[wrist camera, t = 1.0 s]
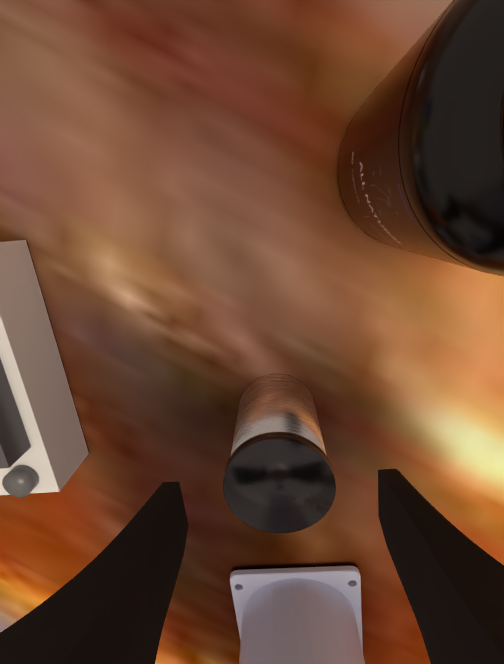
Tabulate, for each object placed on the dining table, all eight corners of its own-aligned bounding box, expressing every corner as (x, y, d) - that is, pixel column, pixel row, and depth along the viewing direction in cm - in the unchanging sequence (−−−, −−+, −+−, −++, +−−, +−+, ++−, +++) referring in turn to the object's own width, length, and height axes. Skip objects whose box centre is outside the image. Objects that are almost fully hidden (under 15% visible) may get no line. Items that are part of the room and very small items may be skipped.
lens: (318, 439, 20) (338, 530, 14) (242, 444, 20) (230, 535, 14) (313, 368, 18) (333, 437, 13) (232, 375, 19) (215, 445, 13)
